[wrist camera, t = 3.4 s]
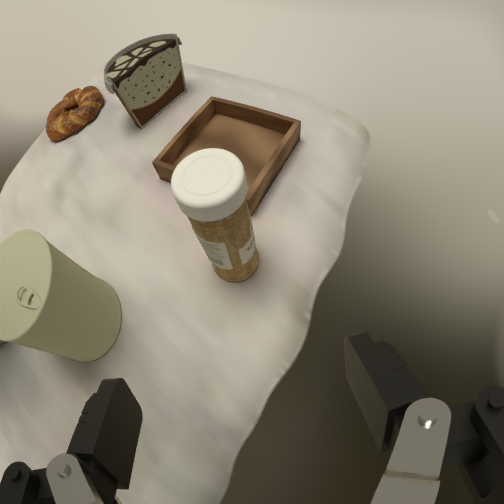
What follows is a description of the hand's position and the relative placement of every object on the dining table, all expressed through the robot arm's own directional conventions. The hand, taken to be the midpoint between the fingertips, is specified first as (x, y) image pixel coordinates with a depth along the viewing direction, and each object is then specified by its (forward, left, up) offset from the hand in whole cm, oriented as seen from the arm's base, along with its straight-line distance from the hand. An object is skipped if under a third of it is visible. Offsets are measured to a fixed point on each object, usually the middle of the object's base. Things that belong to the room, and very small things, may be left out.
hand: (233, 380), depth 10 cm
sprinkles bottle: (+9, +8, -17) cm, 21 cm away
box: (+20, +15, -17) cm, 30 cm away
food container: (+25, +32, -17) cm, 44 cm away
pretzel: (+19, +45, -17) cm, 52 cm away
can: (-4, +19, -17) cm, 25 cm away
